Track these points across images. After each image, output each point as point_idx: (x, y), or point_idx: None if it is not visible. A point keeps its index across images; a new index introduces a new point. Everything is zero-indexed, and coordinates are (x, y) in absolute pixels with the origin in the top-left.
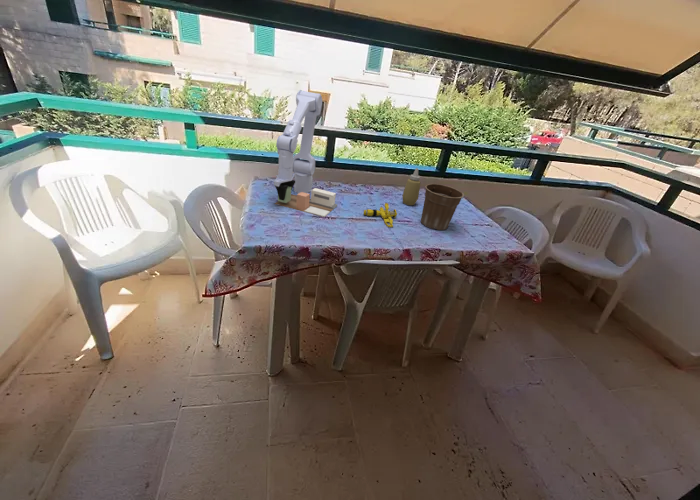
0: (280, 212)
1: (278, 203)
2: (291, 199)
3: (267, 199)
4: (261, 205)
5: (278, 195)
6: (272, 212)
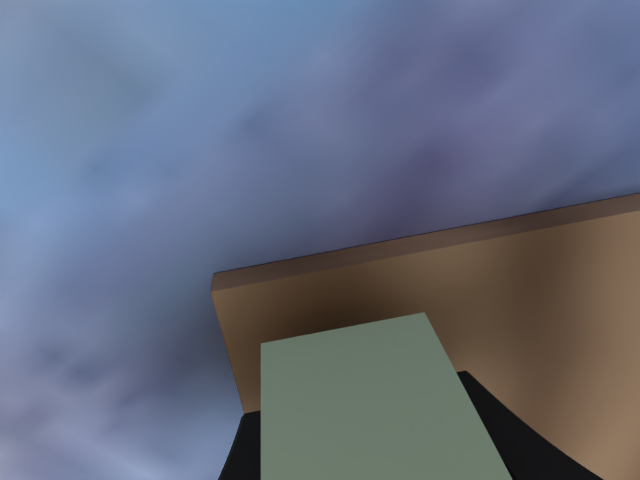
0: (114, 455)
1: (270, 326)
2: (551, 338)
3: (350, 4)
4: (49, 132)
5: (223, 469)
6: (19, 402)
